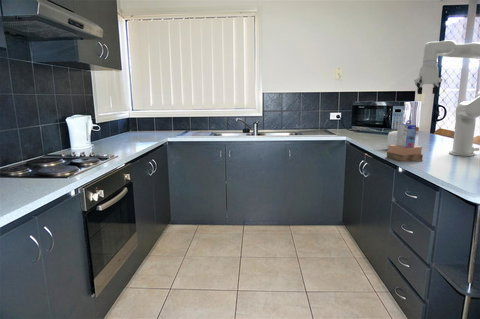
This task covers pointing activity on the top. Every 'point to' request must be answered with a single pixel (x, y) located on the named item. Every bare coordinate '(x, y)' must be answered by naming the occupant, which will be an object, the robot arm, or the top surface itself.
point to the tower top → (404, 150)
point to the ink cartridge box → (406, 135)
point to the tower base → (404, 157)
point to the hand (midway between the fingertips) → (427, 93)
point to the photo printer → (392, 138)
